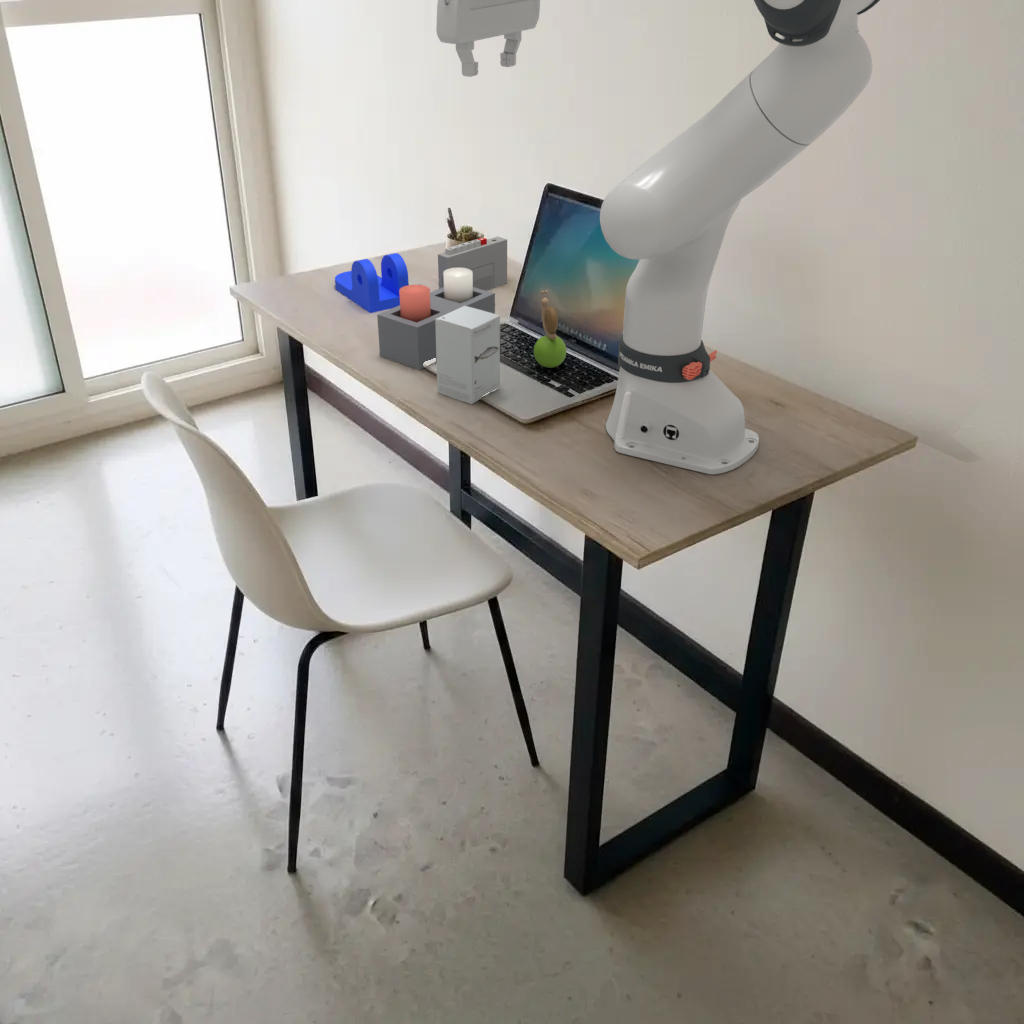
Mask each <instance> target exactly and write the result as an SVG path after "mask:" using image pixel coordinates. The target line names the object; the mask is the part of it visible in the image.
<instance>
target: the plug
mask: <svg viewBox="0 0 1024 1024" xmlns="http://www.w3.org/2000/svg"><path fill="white" fill-rule="evenodd" d="M443 277H444V299H447V300H450V301H454V302H457V303H463V302H465V301H467V300H470V299H472V298H473V272H472V271H471V270H470V269H467V268H450V269H447V270H445V271H444V272H443Z"/></svg>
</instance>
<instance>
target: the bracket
mask: <svg viewBox="0 0 1024 1024" xmlns="http://www.w3.org/2000/svg"><path fill="white" fill-rule="evenodd" d="M380 271H381V276H380V275H378V273H377V270H376V267H375V265H374V264H373V262H372V261H371V260H370V259H368V258H363V259H359V260H358V259H357V260H355V261H353V263H352V264H351V269H350V270H348V271H344V272H341V273H338V274H336V276H335V277H334V285H335V290H336V291H337V292H338V293H340V294H342V295H343V296H344V297H346V298H347V299H349V300H350V301H351V302H353V303H355V304H356V305H357V306H359V307H360V308H362V309H363V310H365V311H366V312H367V313H369V314H372V313H373V314H374V313H376V312H382V311H387V310H389V309H392V308H394V307H397V306H399V305H400V293H399V290H400V288H402V287H404V286H407V285H410V283H409V272H408V268H407V264H406V261H405V260H404V258H403V257H402V256H401V254H399V253H397V252H395V253H389V254H385V255H383V256H382V258H381V262H380Z"/></svg>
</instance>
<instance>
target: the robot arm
mask: <svg viewBox="0 0 1024 1024" xmlns="http://www.w3.org/2000/svg"><path fill="white" fill-rule="evenodd" d="M753 1H754V5H755V6H756V7H757V8H756V9H757V10H758V11H759V13H760V14H761V16H762V18H763V20H764V23H765V26H766V30H767V32H768V35H769V36H770V37H771V39H772V41H773V40H774V41H775V42H777V43H778V44H777V45H776V47H775V48H774V49H773V51H771V53H769V54H768V55H767V57H765V59H763V60H762V61H761V62H760V63H759V64H758V65H757V66H756V67H754V68H753V70H751V72H749V73H748V74H747V75H746V76H745V77H743V79H742V80H741V81H740V82H739V83H737V85H736V86H735V87H734V88H733V89H731V90H730V91H729V92H728V93H727V94H726V95H725V96H724V97H723V98H722V99H721V100H719V102H718V103H717V104H715V106H713V107H712V109H710V110H709V111H708V112H707V113H705V114H704V116H702V117H701V118H699V119H698V120H697V121H696V122H695V123H693V124H691V126H689V127H688V128H686V129H685V130H684V131H682V132H681V133H680V134H679V135H677V136H676V137H674V138H673V139H672V140H671V141H670V142H668V143H667V144H665V146H663V147H662V148H660V149H659V150H658V151H656V153H654V154H653V155H652V156H650V158H648V159H647V160H646V161H644V162H643V163H642V164H641V165H640V166H639V167H637V168H636V169H635V170H634V171H632V173H630V174H629V175H628V176H626V178H624V179H623V180H622V181H621V182H620V183H618V184H617V185H616V186H615V187H613V188H612V189H611V190H610V191H609V192H608V194H606V196H605V197H604V200H603V201H602V203H601V207H600V212H599V223H600V224H599V226H600V230H601V232H602V235H603V237H604V240H605V241H606V243H607V245H608V246H609V247H610V248H611V249H612V250H613V251H614V252H615V253H616V254H618V255H619V256H621V257H622V258H624V259H629V260H638V263H637V264H636V267H635V268H634V271H633V272H632V274H631V275H630V277H629V278H628V282H627V283H626V284H627V285H626V288H625V299H624V313H623V314H624V315H623V316H624V317H623V326H622V327H623V328H622V330H623V331H622V334H621V336H620V337H619V338H620V339H619V342H618V343H619V344H618V354H617V355H618V357H617V365H618V366H617V367H618V371H619V372H618V378H617V379H618V380H617V386H616V391H615V395H614V400H613V402H612V406H611V410H610V413H609V416H608V417H607V419H606V420H607V421H606V423H605V430H606V432H607V434H608V436H610V437H611V439H612V440H613V445H614V450H615V451H616V452H618V453H620V454H623V455H627V456H631V457H637V458H641V459H644V460H648V461H653V462H657V463H662V464H666V465H669V466H674V467H677V468H682V469H686V470H691V471H694V472H698V473H702V474H703V473H704V474H707V475H718V474H724V473H727V472H730V471H733V470H734V469H737V468H738V467H740V466H741V465H743V464H744V463H746V462H748V461H749V460H750V459H751V458H752V457H753V456H754V455H755V454H756V452H757V451H758V449H759V444H760V438H759V433H757V432H755V431H754V430H751V429H749V428H746V417H745V416H746V414H745V409H744V408H745V407H744V405H743V403H742V402H741V400H740V399H739V398H738V397H737V396H736V394H734V393H733V392H732V391H731V390H730V389H729V388H728V387H727V386H726V384H724V383H723V381H721V379H720V378H719V377H718V376H717V375H716V374H715V373H714V372H713V371H712V370H711V362H713V361H714V360H715V359H716V358H717V355H716V354H717V353H718V351H717V350H713V351H712V352H710V354H708V351H707V350H706V347H705V344H704V341H703V339H702V337H703V327H704V320H705V313H706V312H705V311H706V304H707V297H708V290H709V287H710V282H711V278H712V275H713V272H714V269H715V266H716V262H717V259H718V256H719V253H720V251H721V247H722V244H723V241H724V237H725V235H726V232H727V229H728V226H729V223H730V221H731V219H732V217H733V215H734V213H735V212H736V210H737V209H738V207H739V206H740V203H741V200H743V199H744V198H745V197H746V196H748V195H749V194H750V193H752V192H753V191H755V190H756V189H758V188H759V187H761V186H762V185H764V184H765V183H766V182H767V181H769V179H771V178H772V177H773V176H774V175H775V174H777V173H778V172H779V171H780V170H782V169H783V167H785V166H786V165H788V163H790V162H791V161H792V160H794V159H795V158H796V157H797V156H798V155H799V154H800V153H802V152H803V151H804V150H806V149H807V148H808V147H809V146H810V145H811V144H812V143H814V142H815V141H816V140H817V139H818V138H820V137H821V136H822V135H823V134H824V133H825V132H826V131H828V130H829V128H830V127H831V126H833V124H834V123H835V122H836V121H837V120H838V119H839V118H840V117H842V115H843V114H844V113H845V112H846V111H847V110H848V109H849V108H850V106H851V105H852V104H853V103H855V101H856V100H857V98H858V97H859V96H860V94H861V93H863V91H864V90H865V88H866V87H867V85H868V84H869V82H870V79H871V77H872V71H873V59H872V55H871V54H872V53H871V51H870V48H869V46H868V43H867V42H866V40H865V38H864V37H863V36H862V34H861V33H860V29H859V27H858V20H859V15H861V14H863V13H866V12H867V11H868V10H870V9H872V8H873V7H874V6H875V5H877V4H878V3H879V2H880V1H881V0H753ZM436 5H437V6H436V27H435V28H436V29H435V30H436V31H435V32H436V35H437V37H438V40H439V41H440V42H441V43H444V44H450V45H452V44H453V45H455V51H456V53H457V56H458V58H459V60H460V62H461V74H462V76H463V77H468V78H471V77H474V76H478V74H479V61H476V60H475V58H474V55H473V51H474V50H475V41H476V42H477V41H481V40H486V39H490V38H496V37H500V36H503V38H504V40H505V43H504V48H503V52H500V61H499V63H500V65H501V67H503V68H504V67H505V68H511V67H515V66H516V65H517V52H518V50H519V47H520V45H521V42H522V32H523V31H524V32H525V31H528V30H534V29H535V28H536V26H537V25H538V22H539V20H540V19H539V18H540V12H541V11H540V8H541V0H437V4H436ZM776 34H778V35H779V36H781V38H780V37H778V36H776Z"/></svg>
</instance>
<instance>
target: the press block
mask: <svg viewBox="0 0 1024 1024" xmlns="http://www.w3.org/2000/svg"><path fill="white" fill-rule="evenodd" d="M495 301H496V293H495V292H492V291H490V290H487V291H485V290H482V289H478V288H475V287H473V298H472V299H470V300H467V301H465V302H463V303H457V302H454V301H450V300H447V299H444V287H442V288H440V289H439V288H438V289H435V290H433V291H430V308H431V317H428V318H426V319H424V320H422V321H419V322H413V321H410V320H407V319H404V318H401V312H400V305H399V306H397V307H394V308H391V309H387V310H384V311H383V312H382V311H381V312H380V313H378V314H376V317H377V331H378V345H379V348H378V350H379V357H381V358H383V359H386V360H390V361H392V362H395V363H398V364H399V365H400V364H401V365H403V366H406V367H410V368H412V369H415V370H417V371H420V370H423V369H425V368H424V366H423V363H424V362H425V361H428V360H431V359H433V358H436V326H435V319H436V318H439V317H441V316H443V315H445V314H448V313H450V312H452V311H454V310H456V309H459V308H461V307H463V306H468V307H471V308H475V309H479V310H483V311H486V312H490V313H493V314H496V302H495Z"/></svg>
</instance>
